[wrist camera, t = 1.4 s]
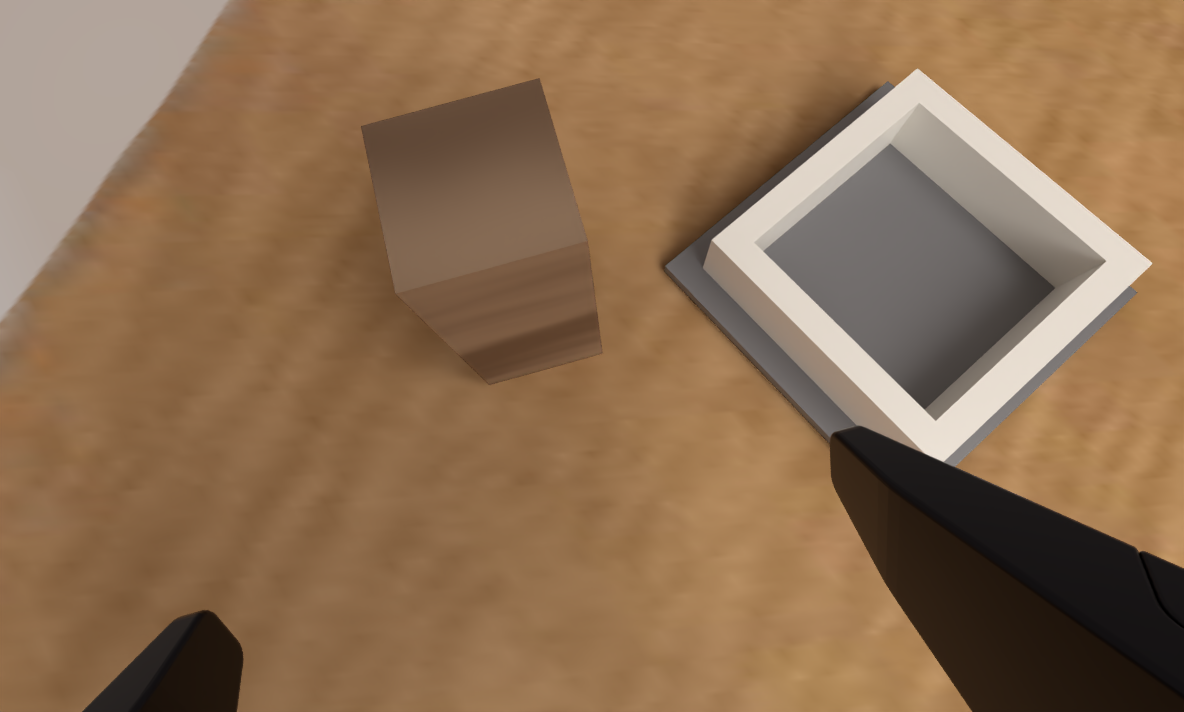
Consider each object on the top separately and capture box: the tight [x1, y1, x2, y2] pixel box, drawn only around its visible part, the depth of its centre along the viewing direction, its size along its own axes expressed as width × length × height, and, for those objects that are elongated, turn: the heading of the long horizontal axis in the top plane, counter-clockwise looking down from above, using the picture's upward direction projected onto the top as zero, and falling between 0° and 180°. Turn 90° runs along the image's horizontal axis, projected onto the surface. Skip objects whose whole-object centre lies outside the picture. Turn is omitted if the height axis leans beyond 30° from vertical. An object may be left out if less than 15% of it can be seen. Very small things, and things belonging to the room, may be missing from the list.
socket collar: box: [664, 69, 1153, 467], centre depth 22 cm, size 12×12×3 cm
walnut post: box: [361, 78, 602, 385], centre depth 19 cm, size 4×4×10 cm
